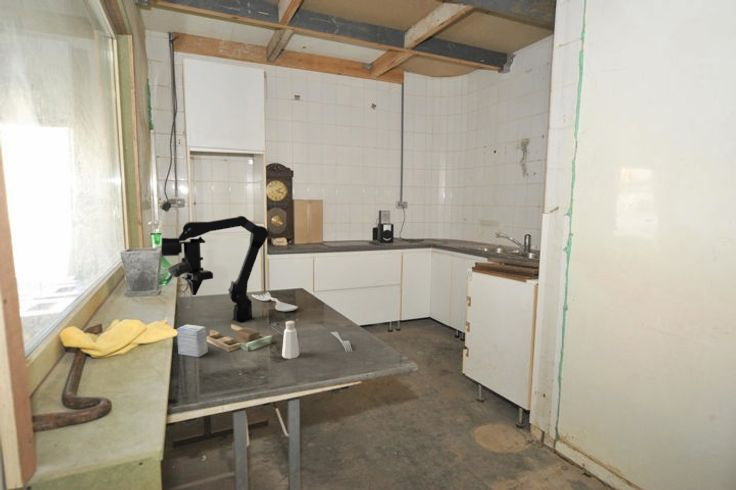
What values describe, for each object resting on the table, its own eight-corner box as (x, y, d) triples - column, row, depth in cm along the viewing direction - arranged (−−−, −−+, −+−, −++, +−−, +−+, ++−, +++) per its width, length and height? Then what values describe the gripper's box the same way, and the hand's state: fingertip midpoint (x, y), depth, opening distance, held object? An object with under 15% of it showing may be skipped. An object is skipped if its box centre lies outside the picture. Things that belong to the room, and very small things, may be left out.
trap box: (233, 327, 148) (233, 321, 147) (272, 342, 132) (272, 335, 132) (198, 337, 137) (198, 330, 137) (236, 355, 122) (236, 347, 122)
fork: (336, 338, 145) (336, 330, 145) (354, 353, 125) (353, 344, 125) (329, 339, 144) (329, 331, 144) (345, 354, 124) (345, 345, 124)
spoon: (268, 297, 193) (268, 290, 193) (301, 312, 169) (301, 304, 169) (251, 300, 187) (250, 293, 187) (283, 316, 163) (283, 308, 163)
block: (247, 338, 137) (246, 327, 137) (259, 342, 133) (259, 331, 132) (236, 342, 134) (235, 331, 133) (248, 346, 129) (248, 335, 129)
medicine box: (208, 352, 124) (206, 326, 123) (197, 358, 120) (196, 331, 119) (188, 349, 127) (187, 323, 126) (177, 354, 122) (176, 328, 121)
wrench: (275, 323, 154) (275, 321, 153) (298, 338, 138) (298, 335, 138) (263, 326, 151) (263, 323, 150) (286, 341, 135) (286, 338, 135)
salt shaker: (291, 360, 119) (290, 325, 117) (278, 356, 121) (277, 322, 120) (302, 354, 123) (302, 321, 122) (290, 350, 126) (289, 318, 125)
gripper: (159, 254, 146) (161, 295, 148) (183, 260, 135) (185, 303, 137) (188, 251, 155) (189, 289, 157) (213, 256, 143) (214, 297, 145)
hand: (194, 295), depth 149 cm, fingers closed
